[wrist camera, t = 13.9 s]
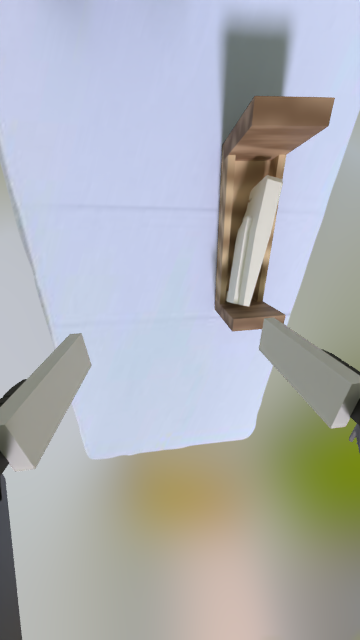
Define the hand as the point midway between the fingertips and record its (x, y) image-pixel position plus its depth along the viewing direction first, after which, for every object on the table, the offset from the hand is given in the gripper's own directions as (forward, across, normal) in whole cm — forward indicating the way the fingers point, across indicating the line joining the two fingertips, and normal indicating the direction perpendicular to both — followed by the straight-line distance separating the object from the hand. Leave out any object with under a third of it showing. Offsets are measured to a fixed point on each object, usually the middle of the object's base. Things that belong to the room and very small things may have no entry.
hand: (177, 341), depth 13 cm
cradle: (+37, +20, +6) cm, 42 cm away
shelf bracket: (+36, +19, +4) cm, 41 cm away
